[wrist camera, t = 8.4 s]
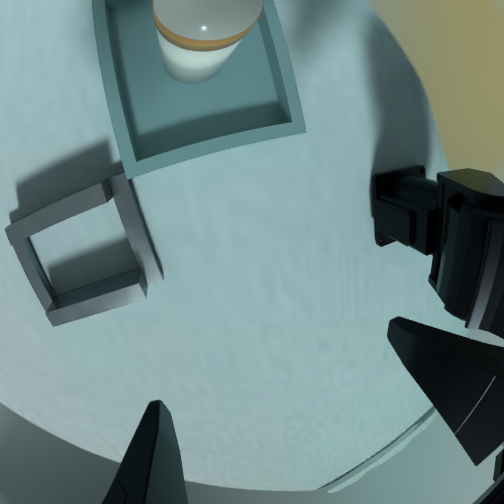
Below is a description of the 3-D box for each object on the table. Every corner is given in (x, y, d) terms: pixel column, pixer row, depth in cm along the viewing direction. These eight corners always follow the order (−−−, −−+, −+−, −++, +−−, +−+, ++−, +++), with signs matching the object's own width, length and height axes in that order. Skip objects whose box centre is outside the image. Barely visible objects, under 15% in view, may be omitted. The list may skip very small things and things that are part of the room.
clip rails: (126, 171, 16) (119, 175, 14) (163, 276, 19) (162, 293, 17) (10, 224, 14) (-6, 235, 12) (52, 311, 18) (42, 329, 16)
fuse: (219, 24, 13) (251, -41, 6) (232, 77, 15) (274, 34, 8) (155, 37, 13) (146, -28, 5) (167, 92, 14) (161, 51, 7)
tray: (252, -21, 12) (261, -35, 10) (292, 133, 18) (306, 132, 16) (98, 10, 11) (91, -3, 9) (133, 175, 16) (127, 179, 14)
